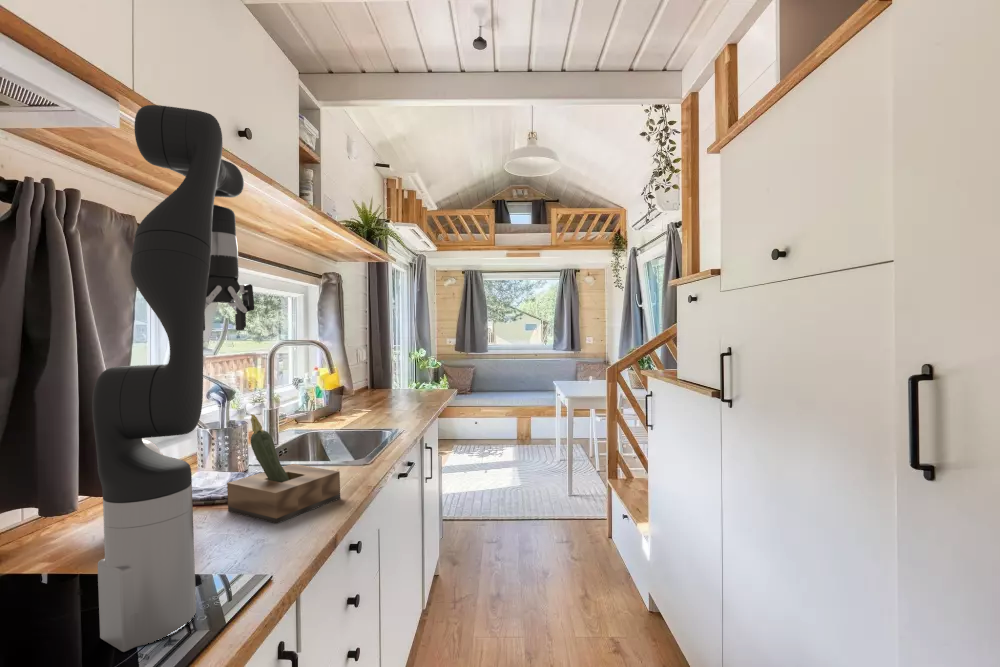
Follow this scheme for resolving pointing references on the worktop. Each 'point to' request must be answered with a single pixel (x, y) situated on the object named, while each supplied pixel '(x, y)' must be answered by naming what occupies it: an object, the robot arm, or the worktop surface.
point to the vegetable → (266, 452)
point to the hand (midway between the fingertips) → (221, 330)
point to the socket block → (283, 493)
